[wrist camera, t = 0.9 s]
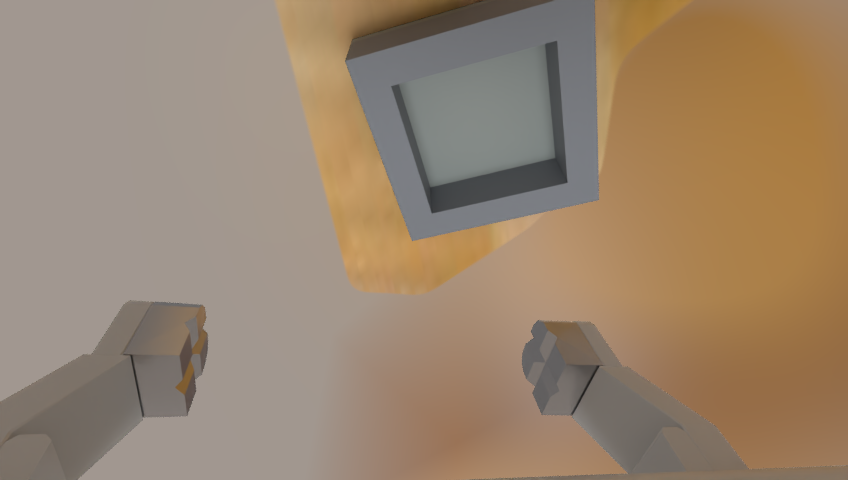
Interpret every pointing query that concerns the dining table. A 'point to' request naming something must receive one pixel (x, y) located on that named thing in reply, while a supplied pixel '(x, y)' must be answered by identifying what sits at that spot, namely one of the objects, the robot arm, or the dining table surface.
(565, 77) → the gray square tray
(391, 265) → the dining table surface
